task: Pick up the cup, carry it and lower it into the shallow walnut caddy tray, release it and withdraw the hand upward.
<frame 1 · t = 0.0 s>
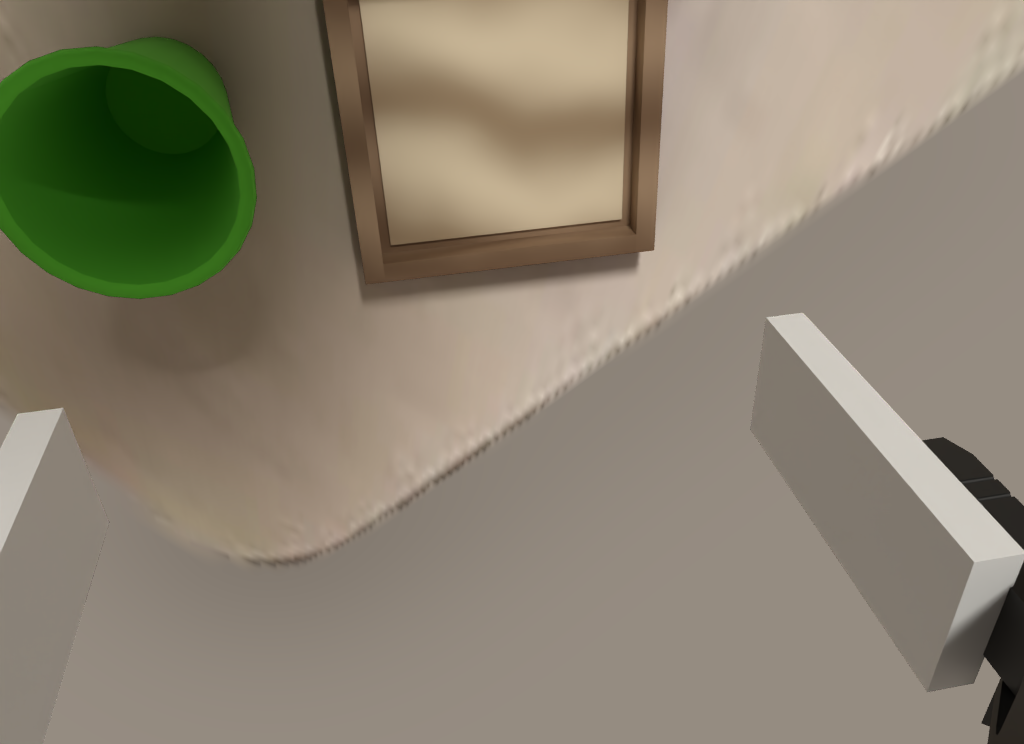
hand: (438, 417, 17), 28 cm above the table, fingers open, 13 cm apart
tray: (499, 109, 42), on the table
cup: (168, 94, 39), on the table
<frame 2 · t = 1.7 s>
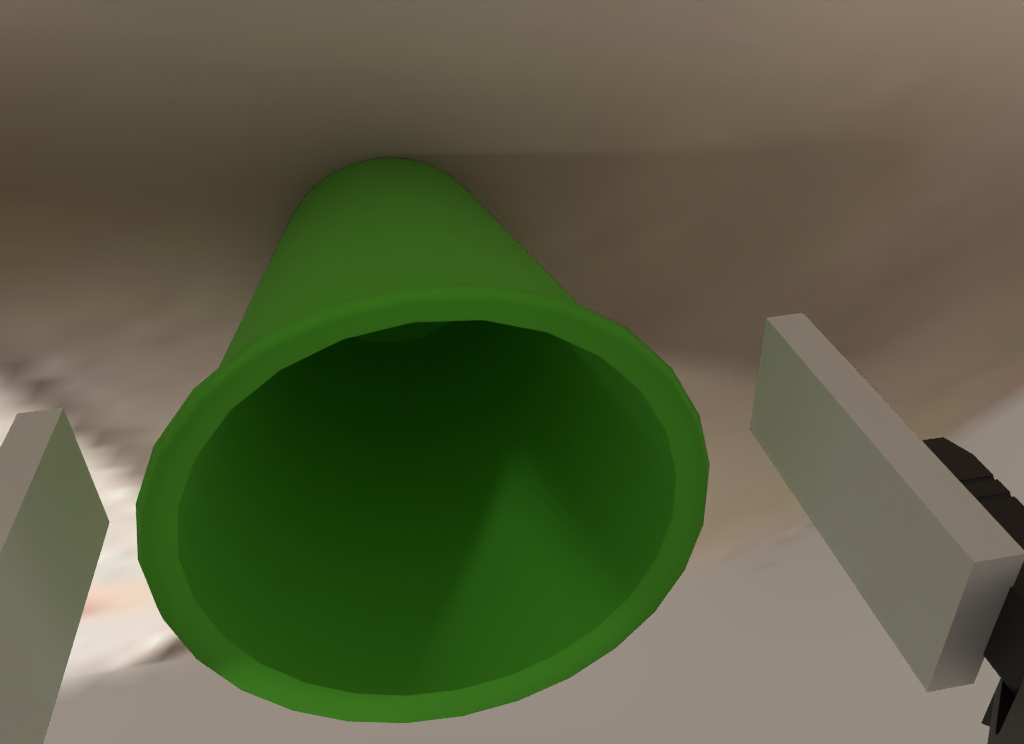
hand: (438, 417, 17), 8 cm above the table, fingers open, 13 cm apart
cup: (388, 246, 23), on the table
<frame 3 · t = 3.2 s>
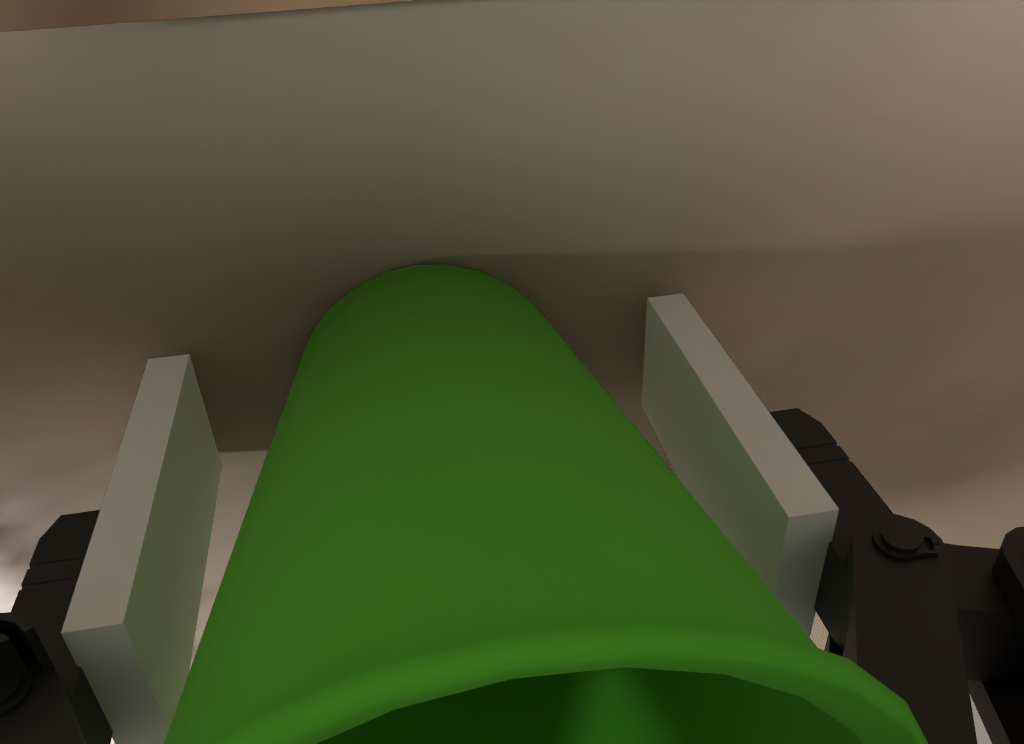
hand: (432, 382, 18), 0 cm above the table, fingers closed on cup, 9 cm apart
cup: (428, 364, 18), on the table, touching gripper
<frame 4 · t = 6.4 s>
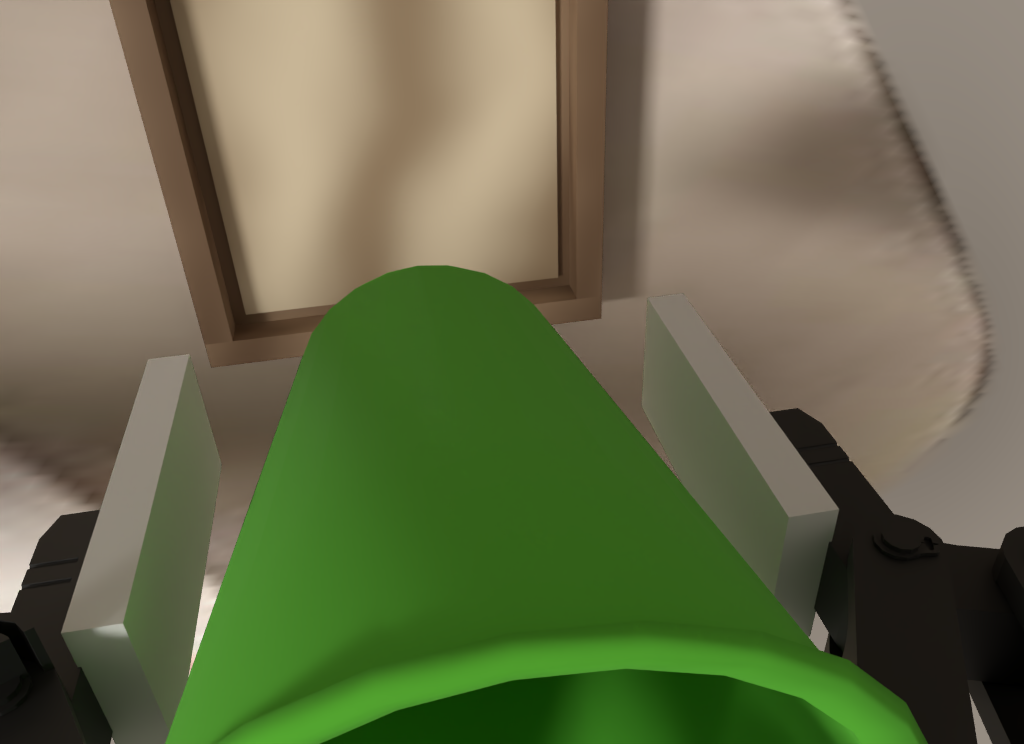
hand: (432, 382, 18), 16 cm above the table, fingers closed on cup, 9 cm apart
tray: (385, 133, 31), on the table
cup: (428, 364, 18), point 15 cm above the table, touching gripper
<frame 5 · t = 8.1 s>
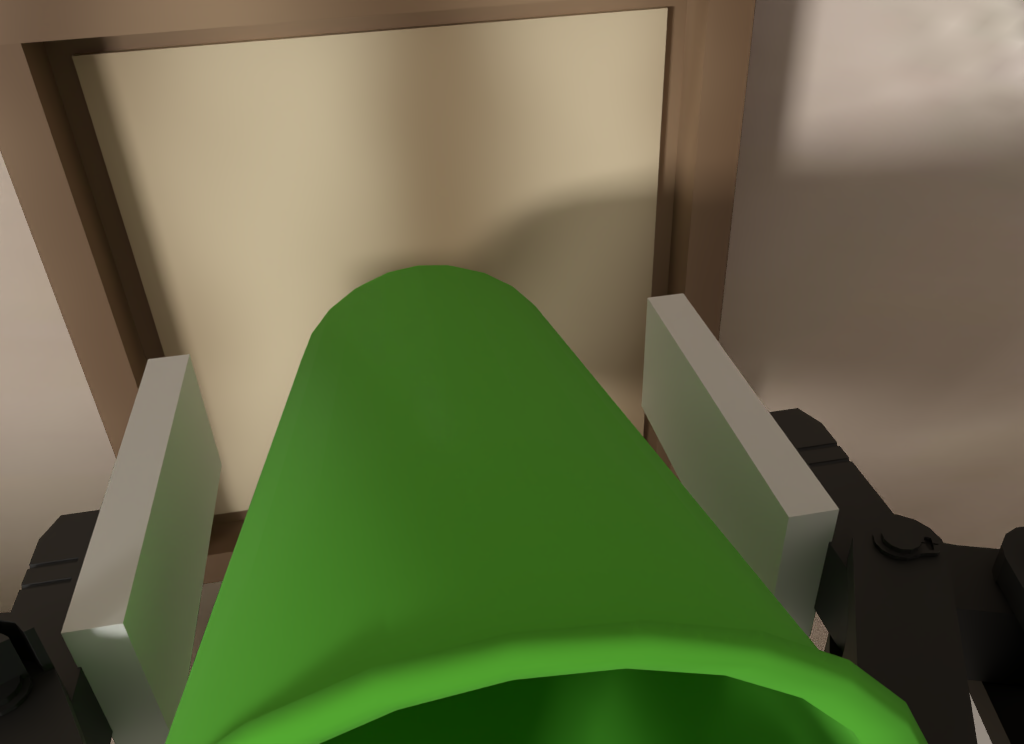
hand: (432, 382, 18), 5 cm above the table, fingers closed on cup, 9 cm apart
tray: (409, 273, 22), on the table
cup: (429, 364, 18), point 4 cm above the table, touching gripper
when the fingers open (3 cm above the table, at t = 9.4 s): cup drops 2 cm, resting on tray.
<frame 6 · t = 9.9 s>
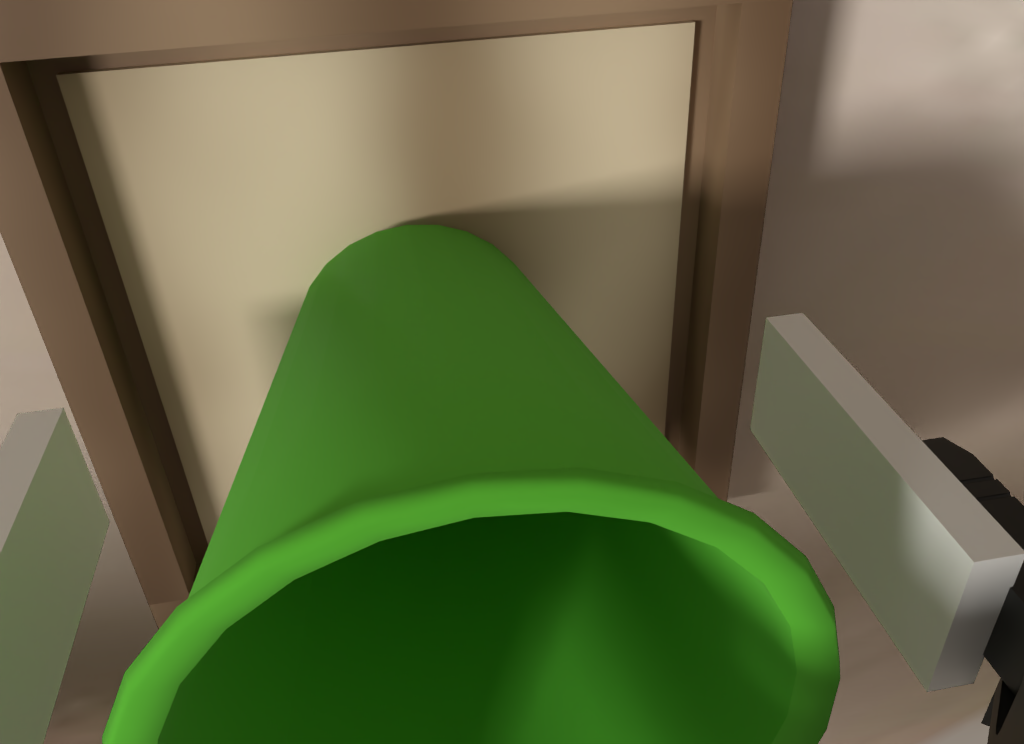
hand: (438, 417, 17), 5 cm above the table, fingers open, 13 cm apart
tray: (417, 301, 20), on the table
cup: (417, 319, 20), point 1 cm above the table, touching tray
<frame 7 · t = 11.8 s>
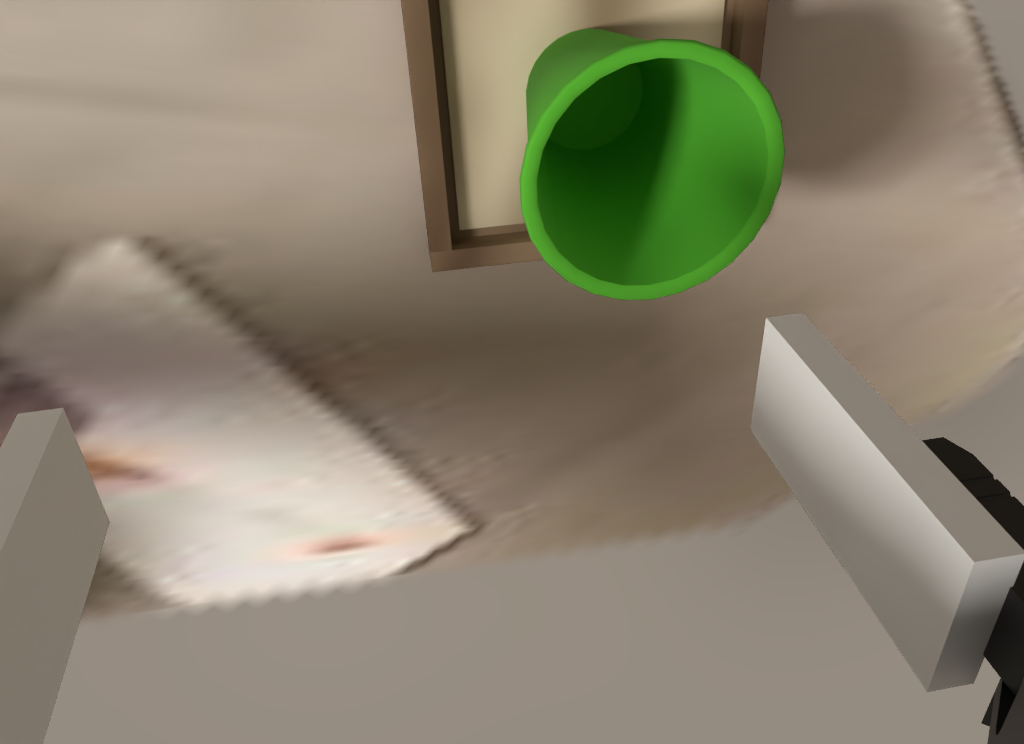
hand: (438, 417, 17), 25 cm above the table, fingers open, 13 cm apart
tray: (580, 82, 39), on the table
cup: (582, 88, 38), point 1 cm above the table, touching tray
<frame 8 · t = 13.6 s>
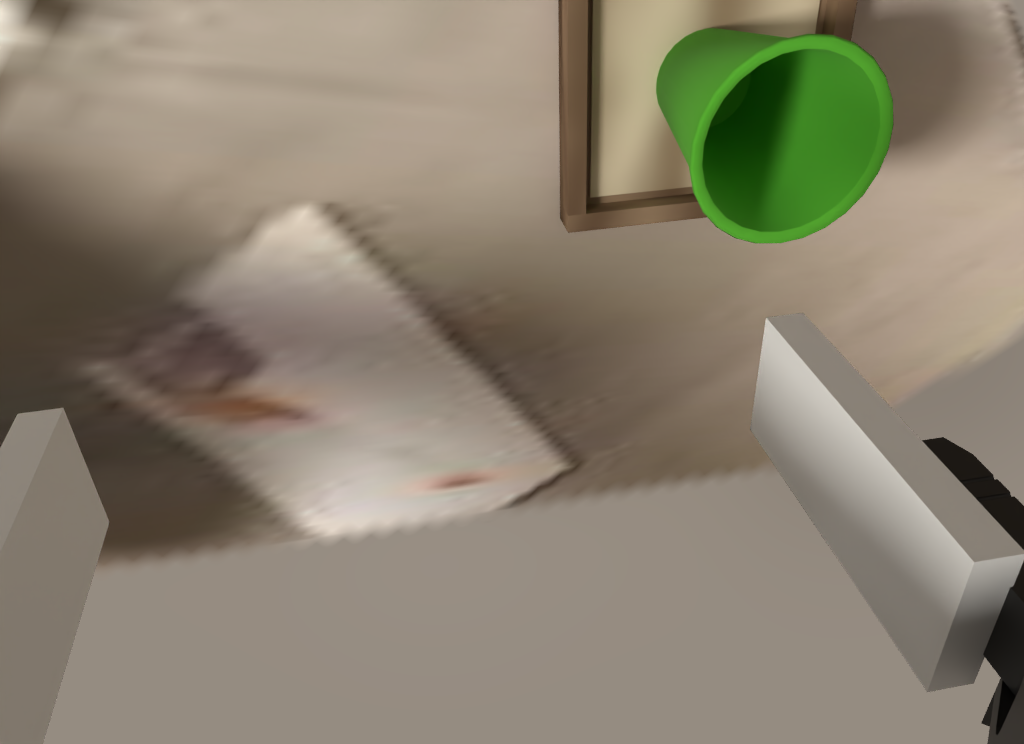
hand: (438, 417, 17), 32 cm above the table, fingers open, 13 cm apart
tray: (696, 73, 46), on the table
cup: (699, 77, 46), point 1 cm above the table, touching tray
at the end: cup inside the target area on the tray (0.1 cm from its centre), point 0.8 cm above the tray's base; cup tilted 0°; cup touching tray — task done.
